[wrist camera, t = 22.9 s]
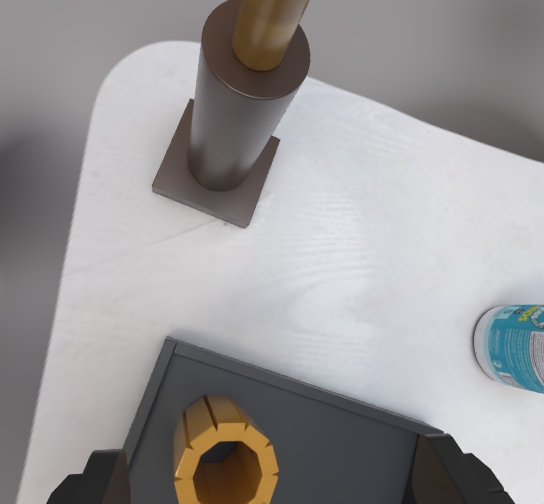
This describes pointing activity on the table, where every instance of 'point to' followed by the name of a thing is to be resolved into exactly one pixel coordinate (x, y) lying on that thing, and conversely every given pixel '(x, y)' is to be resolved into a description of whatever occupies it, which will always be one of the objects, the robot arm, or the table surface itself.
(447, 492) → the robot arm
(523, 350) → the pill bottle
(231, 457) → the golden brown grooved sleeve
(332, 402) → the tray
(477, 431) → the table surface
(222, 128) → the stand
